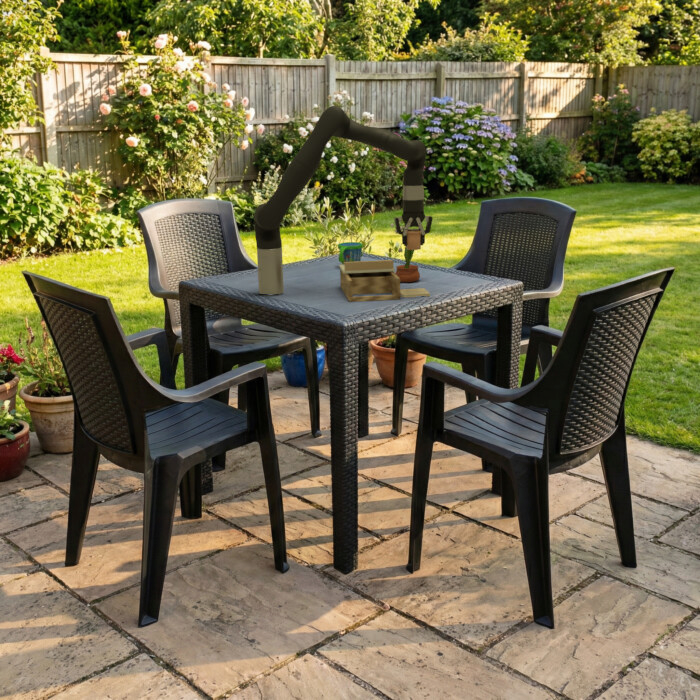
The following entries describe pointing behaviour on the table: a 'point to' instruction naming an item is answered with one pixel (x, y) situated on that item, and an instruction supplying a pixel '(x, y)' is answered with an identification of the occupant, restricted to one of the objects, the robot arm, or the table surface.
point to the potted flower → (407, 265)
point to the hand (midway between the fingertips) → (413, 245)
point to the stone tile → (414, 292)
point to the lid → (367, 266)
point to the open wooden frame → (370, 285)
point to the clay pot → (413, 239)
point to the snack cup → (350, 252)
